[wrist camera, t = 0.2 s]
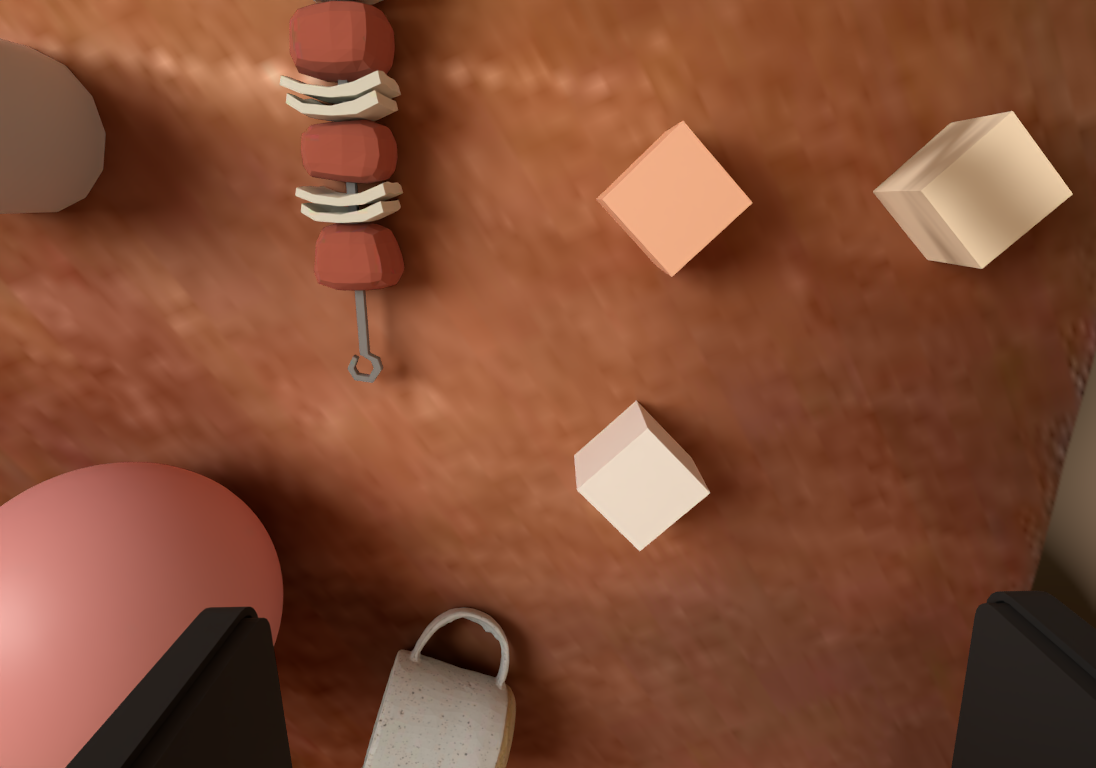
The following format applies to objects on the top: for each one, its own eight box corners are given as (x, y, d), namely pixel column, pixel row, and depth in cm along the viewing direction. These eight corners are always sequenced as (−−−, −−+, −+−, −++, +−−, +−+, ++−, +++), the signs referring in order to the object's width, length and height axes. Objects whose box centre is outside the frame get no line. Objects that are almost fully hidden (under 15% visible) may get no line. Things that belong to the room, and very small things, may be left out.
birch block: (949, 122, 35) (1012, 111, 30) (1003, 194, 36) (1072, 194, 31) (872, 191, 36) (921, 190, 31) (926, 259, 37) (982, 268, 32)
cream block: (636, 400, 39) (647, 428, 34) (691, 457, 40) (710, 492, 35) (574, 454, 40) (576, 489, 35) (629, 509, 41) (639, 551, 36)
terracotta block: (665, 131, 35) (683, 120, 30) (726, 202, 36) (752, 202, 31) (595, 199, 36) (602, 199, 31) (656, 266, 37) (671, 276, 32)
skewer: (306, 393, 35) (229, -330, 26) (334, 370, 40) (276, -256, 31) (404, 394, 35) (360, -331, 26) (421, 370, 40) (388, -257, 31)
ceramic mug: (493, 747, 46) (482, 850, 39) (377, 717, 45) (343, 817, 38) (537, 617, 43) (535, 702, 36) (415, 584, 43) (387, 663, 35)
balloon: (106, 699, 45) (-113, 943, 30) (55, 419, 40) (-240, 549, 25) (333, 706, 45) (225, 954, 30) (313, 426, 40) (170, 561, 25)
